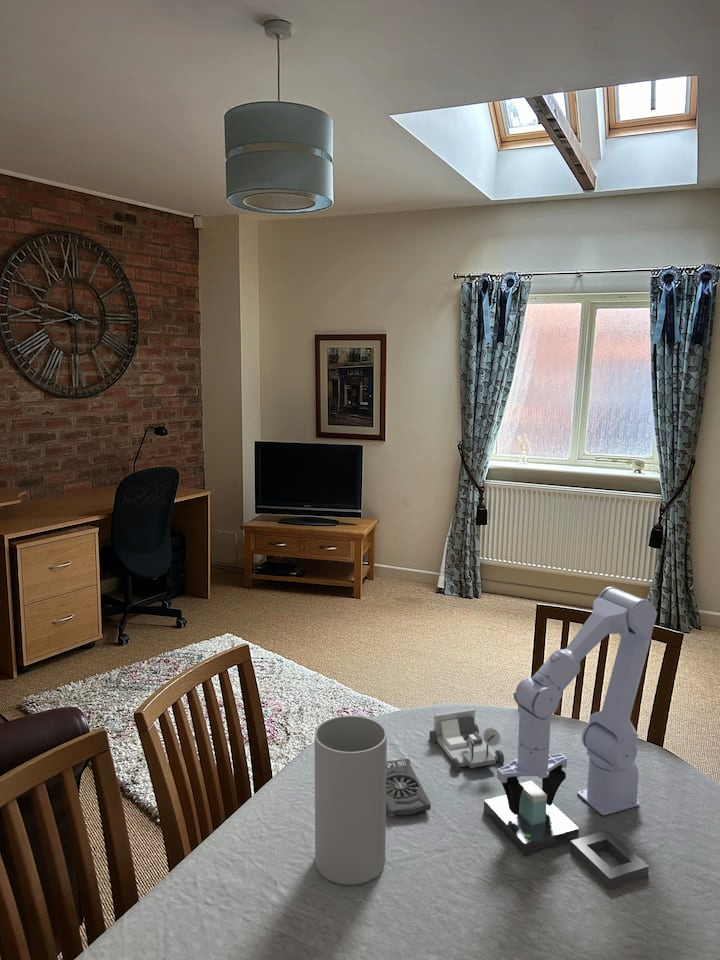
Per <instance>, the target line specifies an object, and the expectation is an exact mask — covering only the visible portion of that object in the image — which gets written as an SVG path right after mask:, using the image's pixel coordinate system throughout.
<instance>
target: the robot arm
mask: <svg viewBox="0 0 720 960" xmlns="http://www.w3.org/2000/svg"><path fill="white" fill-rule="evenodd" d="M657 616H658V611H657V610H656V608H655V606H654V604H653V603H652V602H651V601H650V600H648V599H646V598H641V597H639V596H635V595H633V594H631V593H628V592H626V591H624V590H621V589H619V588H617V587H615V586H607V587H605V588H604V589H603V590H602V591H601V592H600V593H599V595H598V597H596V599H594V601H593V603H592V613H591V615H589V616H588V618H587V620H585V622H584V623H583V624H582V626H581V628H580V629H579V630H578V632H577V633H576V634H575V636H574V637H573V638H572V640H571V641H570V643H568V645H567V647H566V648H562V649H561V648H560V649H556V650H554V652H552V654H550V656H548V658H547V660H546V661H545V662H544V663H543V664H542V666H540V667H539V669H538V670H537V671H536V672H535V673H534V675H532V676H531V677H527V678H525V679H524V678H523V679H522V680H521V681H520V682H519V684H517V686H516V689H515V691H514V692H513V700H514V702H515V704H516V705H517V712H518V714H519V719H518V741H517V742H518V743H517V758H515V759H514V760H512V761H511V762H508V763H507V764H506V765H504V766H502V767H499V768H496V778H497V779H498V780H499V782H500V784H501V785H502V787H503V789H504V793H505V795H506V796H507V800H508V805H509V810H510V811H511V812H512V813H513V814H514V815H517V814H518V813H519V804H520V797H521V793H522V791H523V789H524V787H523V786H522V785H520V784H519V783H520V780H519V779H518V778H520V777H537V778H539V779H541V782H542V783H541V787H542V788H541V790H542V791H544V792H545V793H546V794H547V805H548V806H551V805H552V804H553V802H554V799H555V796H556V794H557V791H558V790H559V788H560V786H561V784H562V783H563V782H564V781H565V779H566V776H567V775H566V774H567V773H566V771H565V770H563V769H565V768H567V767H568V758H567V757H566V756H565V755H564V754H563V753H556V754H550V736H551V735H550V734H551V718H552V717H551V716H552V715H553V714H555V713H556V712H557V710H558V709H559V705H560V700H561V699H562V697H563V691H564V690H566V688H568V686H569V685H570V684H571V683H572V681H573V680H574V679H575V678H576V677H577V675H579V674H580V672H581V661H582V660H583V659H584V658H585V657H586V656H587V655H588V654H590V652H591V651H592V650H593V649H594V648H595V647H596V646H597V645H598V644H599V643H601V642H602V641H603V639H604V638H606V637H607V636H608V635H609V634H613V635H614V634H615V635H616V634H619V637H620V640H619V644H618V648H617V652H616V655H615V658H614V663H613V666H612V670H611V674H610V678H609V681H608V684H607V689H606V693H605V697H604V701H603V703H602V704H603V705H602V708H601V710H600V711H596V712H594V713H592V714H591V715H590V718H589V719H588V720H589V721H588V723H587V724H586V726H585V728H584V729H583V731H582V734H581V741H582V745H583V746H584V747H585V748H586V749H587V750H586V755H587V756H588V772H587V774H588V775H587V788H586V789H581V790H578V791H577V796H579V797H580V798H582V799H583V801H585V802H586V803H587V804H588V805H590V807H592V808H593V809H594V810H595V811H596V812H598V814H600V815H602V816H606V815H609V814H610V815H611V814H614V813H617V812H621V811H624V810H629V809H632V808H635V807H639V806H640V802H639V801H638V792H639V791H638V790H639V789H638V787H639V777H640V776H639V774H640V773H639V770H638V766H637V764H636V762H635V761H636V759H637V757H638V756H637V755H638V744H637V742H638V739H639V734H638V732H637V731H636V728H635V727H634V725H633V723H632V721H631V716H632V711H633V708H634V705H635V700H636V697H637V693H638V689H639V685H640V682H641V677H642V674H643V670H644V666H645V663H646V659H647V655H648V651H649V648H650V644H651V640H652V635H653V632H654V631H653V630H654V627H655V624H656V619H657Z"/></svg>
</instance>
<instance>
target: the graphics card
mask: <svg viewBox="0 0 720 960" xmlns="http://www.w3.org/2000/svg"><path fill="white" fill-rule="evenodd" d="M390 764H391V765H390ZM394 764H395V765H394ZM388 766H389V767H388ZM431 806H432V805H431V801H430V799H429V797H428V796H427V793H426V792H425V789H424V788H423V786H422V784H421V782H420V780H419V778H418V777H417V774H416V773H415V771H414V769H413V768H412V765H411V758H410V757H409V756H408V757H407V758H403V759H396V760H390V761H387V760H386V811H387V813H388V815H389V816H391V817H395V816H396V815H413V814H416V813H419V812H422V811H427V812H428V811H430V810H431V808H432V807H431Z"/></svg>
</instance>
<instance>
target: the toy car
mask: <svg viewBox="0 0 720 960" xmlns="http://www.w3.org/2000/svg"><path fill="white" fill-rule="evenodd" d="M433 716H434V717H433V718H434V722H433V723H434V725H433V727H434V728H433V729H432V730H430V731H429V740H430V741H431V742H432V744H438V745H439V746H440V747H441V748H442V750H443V751H444V753H446V755H447V756H448V757H449V759H451V760H450V765H451V768H452V770H453V771H454V772H455V773H459V772H460V770H461V767H466V766H468V767H469V768H470V769H471V768H472V769H473V768H477V767H484V766H488V765H493V764H494V765H495V764H496V763H498V764H499V765H503V764H504V763H505V755H504V753H503V751H502V750H500V749H496V750H495V751H494V749H493V747H497V746H499V744H500V743H501V735H500V733H499V731H498V730H497V729H495V728H493V727H488V728H486V729H485V730H484V731H483V733H482V734H483V735H482V736H481V735H480V729H479V726H478V724H477V723H476V722H475V721H476V720H475V719H476V709H475V708H473V707H470V708H463V709H460V710H453V711H452V710H451V711H447V712H439V713H434V715H433ZM497 761H498V762H497Z"/></svg>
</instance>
